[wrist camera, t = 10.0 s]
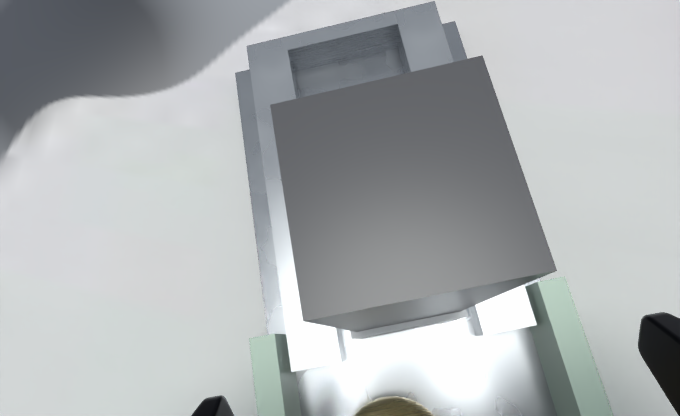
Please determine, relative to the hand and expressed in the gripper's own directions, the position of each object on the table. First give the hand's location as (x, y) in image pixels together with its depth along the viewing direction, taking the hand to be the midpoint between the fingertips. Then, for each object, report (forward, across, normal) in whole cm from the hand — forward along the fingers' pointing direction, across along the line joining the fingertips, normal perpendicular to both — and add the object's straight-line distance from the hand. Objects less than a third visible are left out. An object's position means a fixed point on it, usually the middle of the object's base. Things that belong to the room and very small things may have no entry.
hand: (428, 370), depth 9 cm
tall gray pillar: (+9, 0, +4) cm, 10 cm away
